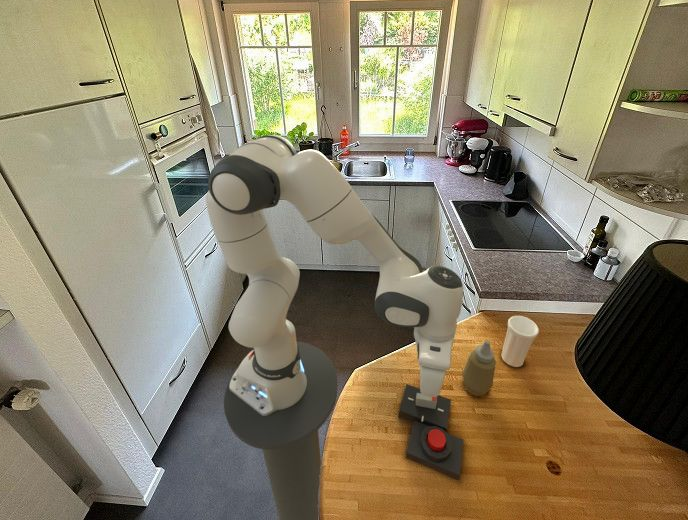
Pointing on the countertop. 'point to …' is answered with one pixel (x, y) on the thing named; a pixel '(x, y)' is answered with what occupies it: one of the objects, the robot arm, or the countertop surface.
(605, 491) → the countertop surface
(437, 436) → the power button
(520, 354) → the cup
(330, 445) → the countertop surface
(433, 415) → the control panel
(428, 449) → the power base
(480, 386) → the squeeze bottle
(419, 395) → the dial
